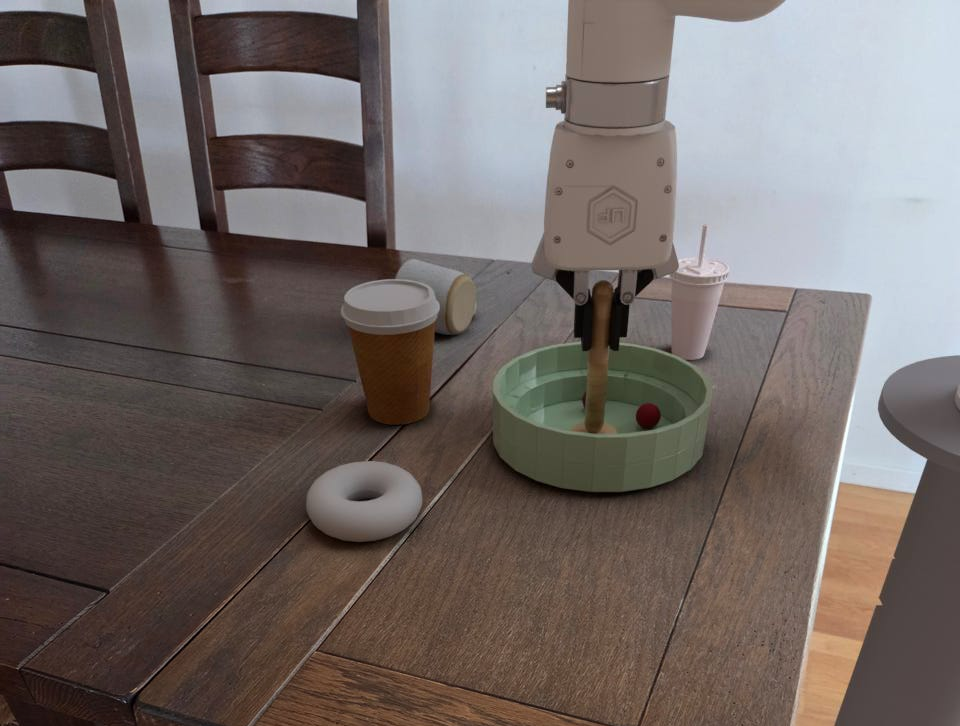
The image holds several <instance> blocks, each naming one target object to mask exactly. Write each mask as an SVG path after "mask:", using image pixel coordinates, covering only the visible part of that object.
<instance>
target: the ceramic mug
mask: <svg viewBox="0 0 960 726" xmlns="http://www.w3.org/2000/svg"><path fill="white" fill-rule="evenodd" d="M394 279H402V280H412V281H417V282H421V283H423V284H426V285H428V286H429V287H431V288H432V289H433V291H434V294H435V298H436V300H437V301H438V302H439V304H440V310H439V312H438V314H437V318H436V320H435V333H436V334H441V335H447V336H448V335H449V336H456V335H459V334H461V333H463V332H464V331H465V330H466V329H467V328H468V327H469V325H470V324H471V322H472V319H473V317H474V316H475V314H476V311H477V307H478V306H477V305H478V302H477V290H476V286H475V284H474V281H473V280H472V278H471V277H470V276H469V275H467V274H465V273H463V272H461V271H459V270H456V269H453V268H448V267H443V266H441V265H437V264H433V263H430V262H426V261H423V260H420V259H416V258H412V259H411V258H410V259H408V260H406V261H405V262H404V263H402V265H401V266H400V267H399V269H398V270H397V272H396V274H395V278H394Z"/></svg>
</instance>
